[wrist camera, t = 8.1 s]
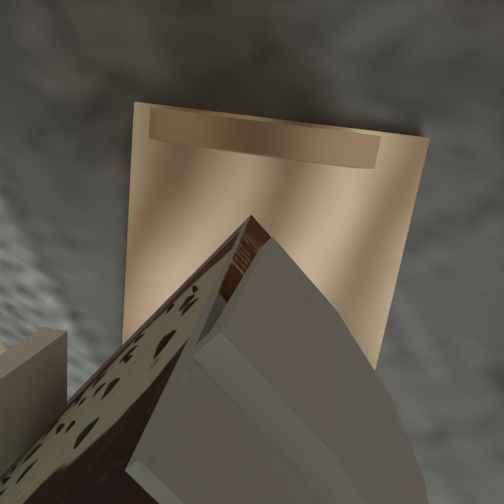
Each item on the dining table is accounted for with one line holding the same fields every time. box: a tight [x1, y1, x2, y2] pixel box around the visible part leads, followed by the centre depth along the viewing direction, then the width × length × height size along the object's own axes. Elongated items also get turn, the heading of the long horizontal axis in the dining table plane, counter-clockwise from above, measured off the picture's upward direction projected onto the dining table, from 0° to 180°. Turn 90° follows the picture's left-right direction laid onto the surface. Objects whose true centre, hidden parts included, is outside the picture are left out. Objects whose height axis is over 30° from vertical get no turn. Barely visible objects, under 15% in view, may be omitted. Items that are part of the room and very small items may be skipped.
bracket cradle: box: [122, 102, 430, 371], centre depth 20 cm, size 16×19×7 cm
